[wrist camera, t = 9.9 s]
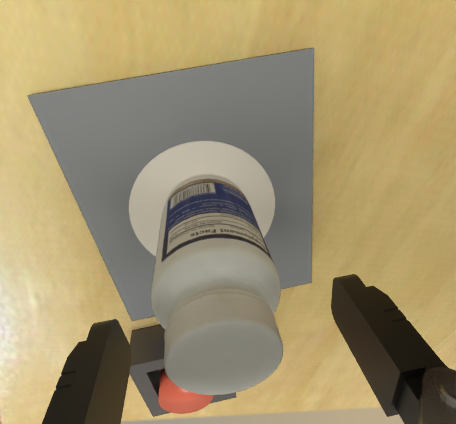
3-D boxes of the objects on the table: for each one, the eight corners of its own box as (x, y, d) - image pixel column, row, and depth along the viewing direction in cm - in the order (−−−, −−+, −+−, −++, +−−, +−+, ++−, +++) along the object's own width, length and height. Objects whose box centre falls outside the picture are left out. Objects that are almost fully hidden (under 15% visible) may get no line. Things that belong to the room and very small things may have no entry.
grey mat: (311, 47, 15) (315, 48, 14) (309, 279, 23) (312, 283, 22) (31, 94, 14) (25, 95, 13) (132, 316, 22) (131, 322, 21)
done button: (206, 351, 22) (208, 377, 20) (214, 380, 24) (217, 406, 22) (154, 362, 22) (151, 389, 20) (167, 391, 24) (166, 418, 22)
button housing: (219, 312, 23) (224, 345, 20) (231, 363, 27) (236, 397, 24) (132, 330, 23) (125, 367, 20) (155, 380, 26) (153, 416, 24)
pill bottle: (228, 256, 20) (259, 412, 11) (151, 235, 18) (121, 399, 10) (264, 190, 17) (336, 324, 9) (180, 159, 16) (174, 287, 7)
